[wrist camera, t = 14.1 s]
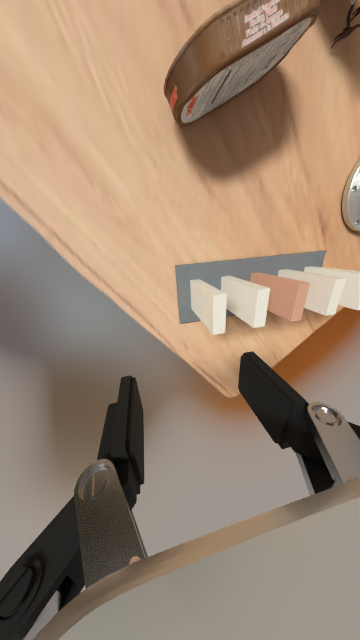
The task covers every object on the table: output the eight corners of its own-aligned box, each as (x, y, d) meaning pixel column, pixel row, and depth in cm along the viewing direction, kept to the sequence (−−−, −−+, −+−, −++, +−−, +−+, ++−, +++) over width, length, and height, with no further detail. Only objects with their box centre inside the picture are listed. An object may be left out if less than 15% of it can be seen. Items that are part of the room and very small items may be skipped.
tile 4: (286, 269, 31) (346, 277, 22) (281, 295, 33) (335, 314, 24) (278, 270, 30) (336, 279, 21) (274, 296, 32) (325, 315, 23)
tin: (270, 41, 19) (352, -91, 12) (276, 79, 21) (353, -17, 13) (158, 111, 20) (168, 25, 12) (171, 144, 21) (188, 86, 14)
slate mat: (323, 250, 31) (325, 250, 31) (310, 302, 35) (312, 302, 35) (175, 265, 27) (175, 265, 26) (179, 322, 31) (180, 323, 30)
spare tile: (248, 300, 32) (290, 321, 23) (251, 273, 30) (299, 284, 21) (255, 299, 32) (301, 320, 23) (259, 272, 30) (310, 282, 21)
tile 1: (199, 279, 28) (226, 293, 19) (200, 307, 30) (225, 333, 21) (190, 280, 28) (213, 295, 19) (191, 308, 30) (213, 335, 21)
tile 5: (312, 266, 32) (380, 273, 23) (306, 292, 34) (366, 308, 25) (304, 267, 31) (370, 274, 22) (299, 293, 33) (357, 310, 24)
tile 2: (230, 275, 29) (270, 288, 20) (228, 303, 31) (264, 326, 22) (221, 276, 29) (257, 289, 20) (220, 304, 31) (253, 328, 22)
